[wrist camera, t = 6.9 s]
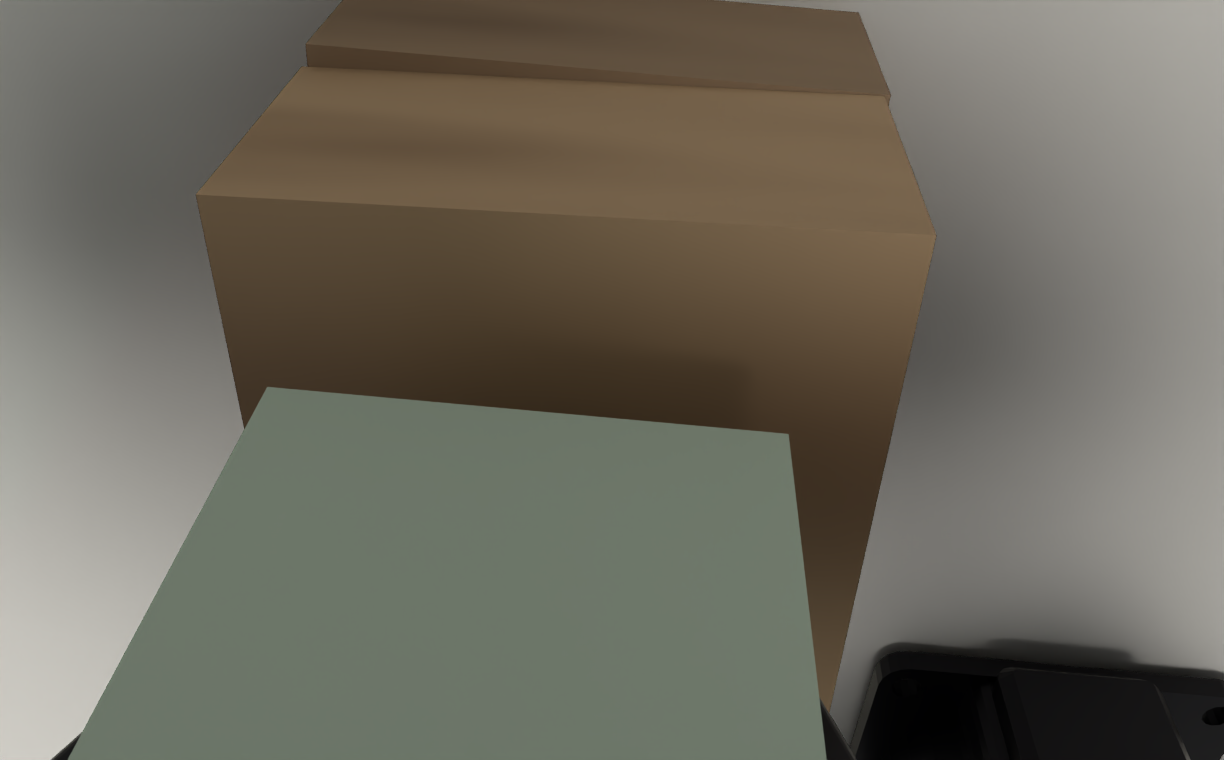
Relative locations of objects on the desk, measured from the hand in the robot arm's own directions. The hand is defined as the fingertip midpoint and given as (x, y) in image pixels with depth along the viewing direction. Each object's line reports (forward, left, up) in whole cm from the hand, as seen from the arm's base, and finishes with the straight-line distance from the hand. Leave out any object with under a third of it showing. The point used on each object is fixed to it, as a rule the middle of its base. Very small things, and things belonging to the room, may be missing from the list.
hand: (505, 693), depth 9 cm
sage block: (0, 0, -1) cm, 1 cm away
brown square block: (0, 0, -5) cm, 5 cm away
